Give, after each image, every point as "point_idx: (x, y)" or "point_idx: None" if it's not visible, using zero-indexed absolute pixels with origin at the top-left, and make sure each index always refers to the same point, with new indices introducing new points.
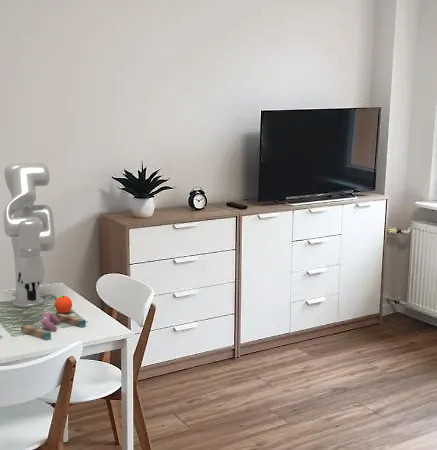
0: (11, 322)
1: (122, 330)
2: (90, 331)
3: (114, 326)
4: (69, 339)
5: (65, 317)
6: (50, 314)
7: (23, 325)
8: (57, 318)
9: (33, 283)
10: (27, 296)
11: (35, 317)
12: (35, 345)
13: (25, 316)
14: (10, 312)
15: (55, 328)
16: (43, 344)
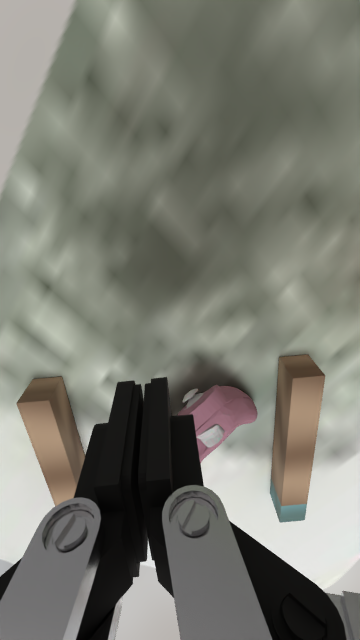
0: (68, 175)
1: (330, 575)
2: (258, 532)
3: (352, 543)
4: (148, 543)
5: (286, 439)
6: (206, 455)
7: (33, 405)
8: (250, 422)
9: (243, 622)
10: (92, 440)
11: (249, 210)
12: (15, 522)
13: (220, 125)
14: None
15: None
16: None
